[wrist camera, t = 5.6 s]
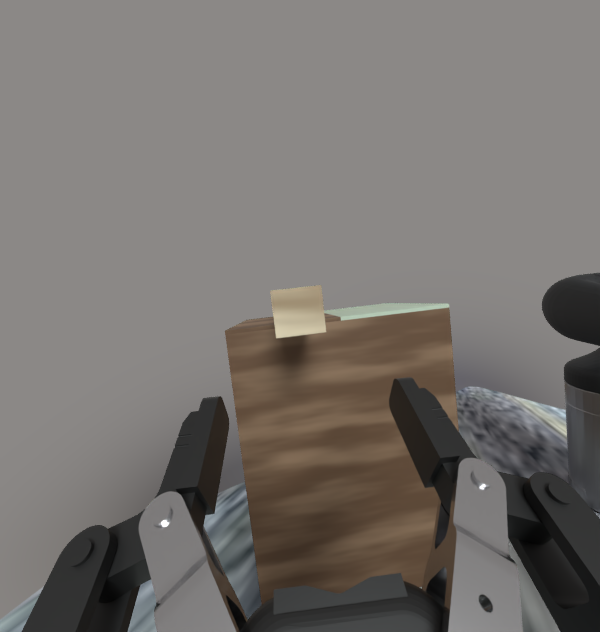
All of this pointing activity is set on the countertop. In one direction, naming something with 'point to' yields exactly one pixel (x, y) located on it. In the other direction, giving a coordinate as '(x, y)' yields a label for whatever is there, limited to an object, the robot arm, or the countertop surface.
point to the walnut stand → (337, 444)
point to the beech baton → (298, 311)
